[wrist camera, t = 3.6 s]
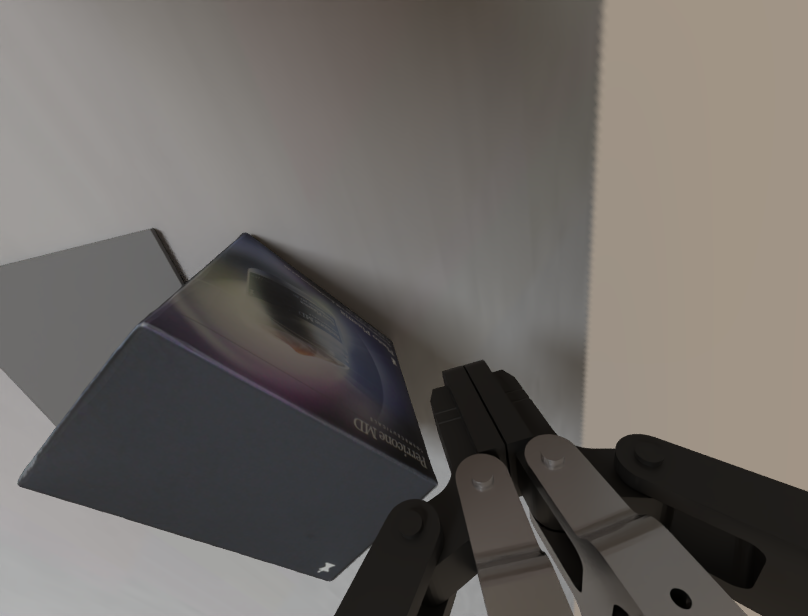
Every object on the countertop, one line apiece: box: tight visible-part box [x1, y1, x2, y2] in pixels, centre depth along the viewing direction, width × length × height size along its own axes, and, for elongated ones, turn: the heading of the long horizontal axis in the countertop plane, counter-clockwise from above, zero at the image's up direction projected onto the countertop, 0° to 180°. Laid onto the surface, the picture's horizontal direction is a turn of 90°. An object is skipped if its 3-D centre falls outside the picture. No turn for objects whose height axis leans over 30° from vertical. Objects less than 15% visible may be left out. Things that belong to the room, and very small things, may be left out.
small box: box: [17, 233, 438, 581], centre depth 15 cm, size 11×6×10 cm, turn 46°
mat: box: [0, 228, 184, 427], centre depth 19 cm, size 14×10×1 cm
